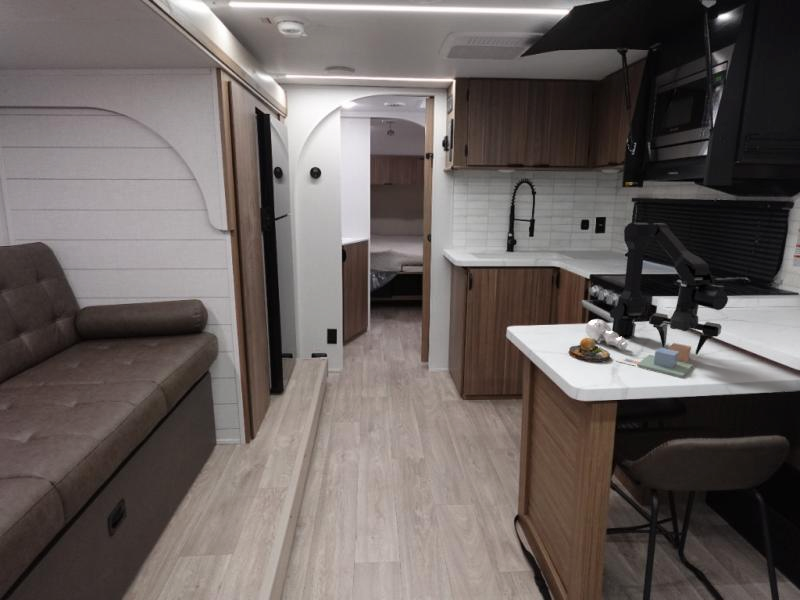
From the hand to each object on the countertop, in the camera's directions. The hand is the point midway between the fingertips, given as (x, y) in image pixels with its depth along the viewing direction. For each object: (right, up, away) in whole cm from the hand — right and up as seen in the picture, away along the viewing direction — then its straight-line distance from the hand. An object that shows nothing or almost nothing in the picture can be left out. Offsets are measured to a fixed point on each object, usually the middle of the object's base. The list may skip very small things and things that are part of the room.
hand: (679, 350), depth 154 cm
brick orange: (0, -2, +1) cm, 3 cm away
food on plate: (-28, -2, 0) cm, 28 cm away
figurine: (-19, +1, +12) cm, 22 cm away
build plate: (-9, -4, -8) cm, 12 cm away
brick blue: (-9, -3, -8) cm, 12 cm away
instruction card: (-17, -3, -5) cm, 18 cm away
